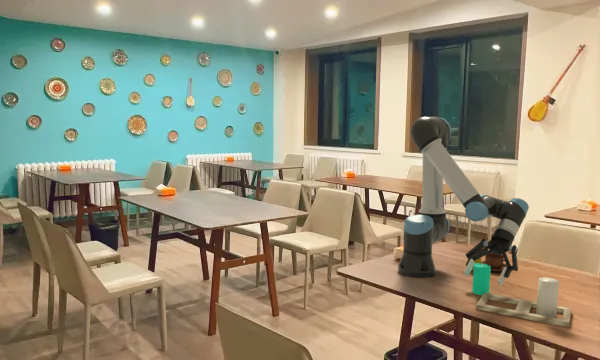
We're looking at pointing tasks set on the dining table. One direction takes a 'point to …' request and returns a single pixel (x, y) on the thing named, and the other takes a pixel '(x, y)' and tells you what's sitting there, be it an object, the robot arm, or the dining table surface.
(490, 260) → the cup and saucer
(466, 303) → the dining table surface
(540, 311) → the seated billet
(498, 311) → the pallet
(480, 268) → the candle
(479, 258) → the lemon
